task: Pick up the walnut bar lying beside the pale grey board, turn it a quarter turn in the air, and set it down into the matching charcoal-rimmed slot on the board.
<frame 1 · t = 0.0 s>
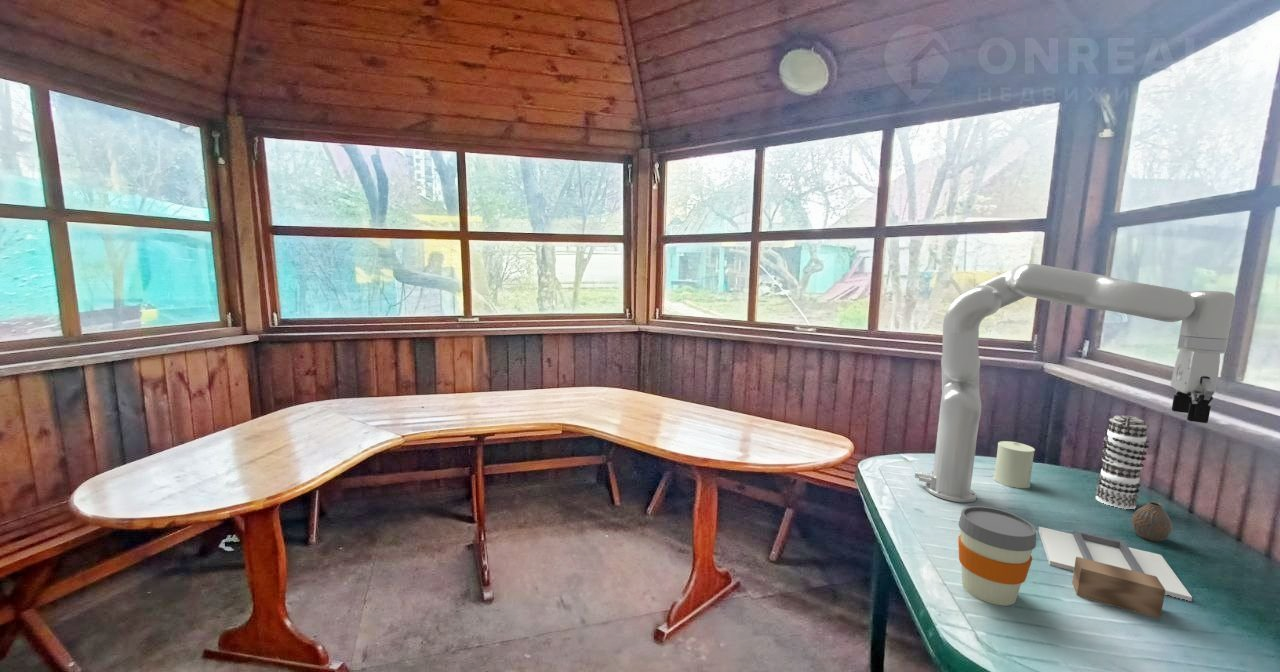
hand: (1188, 416, 119), 31 cm above the table, tool pointing down, fingers open, 9 cm apart
slot board: (1105, 561, 113), on the table
vase: (1148, 538, 124), on the table
reusable coffee cup: (988, 591, 101), on the table
can: (1011, 482, 156), on the table
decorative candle: (1115, 503, 143), on the table
walnut bar: (1113, 600, 100), on the table
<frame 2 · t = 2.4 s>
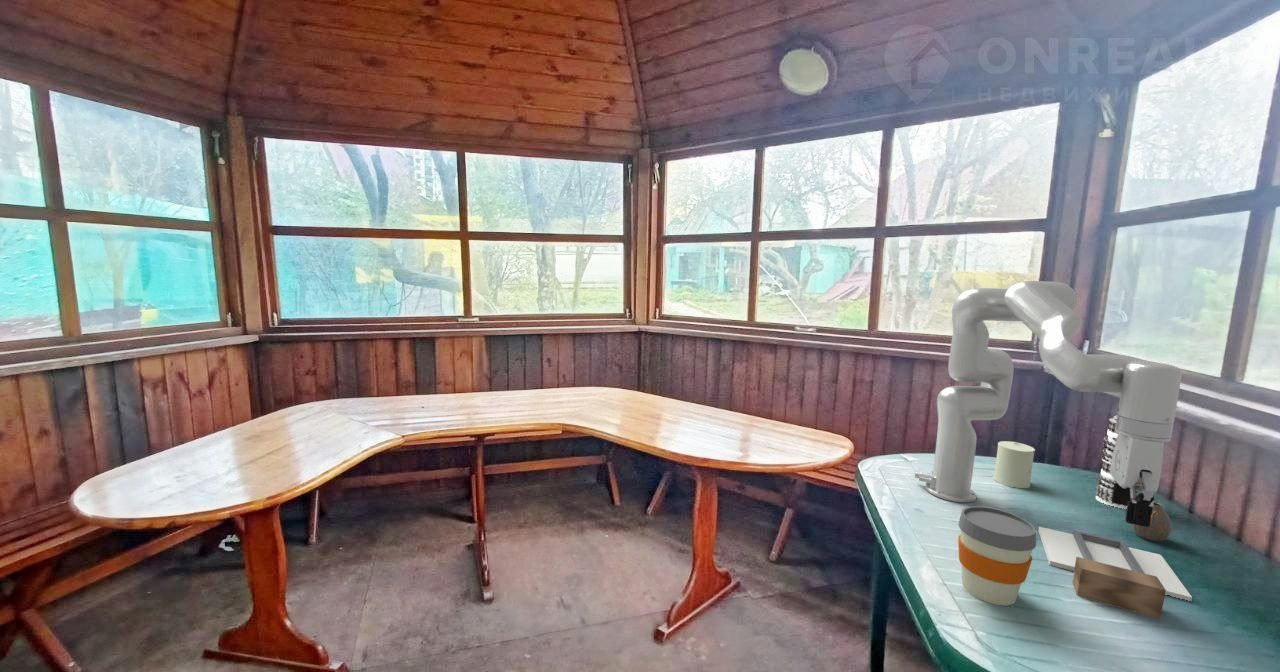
hand: (1129, 513, 97), 18 cm above the table, tool pointing down, fingers open, 9 cm apart
nothing on the table moved.
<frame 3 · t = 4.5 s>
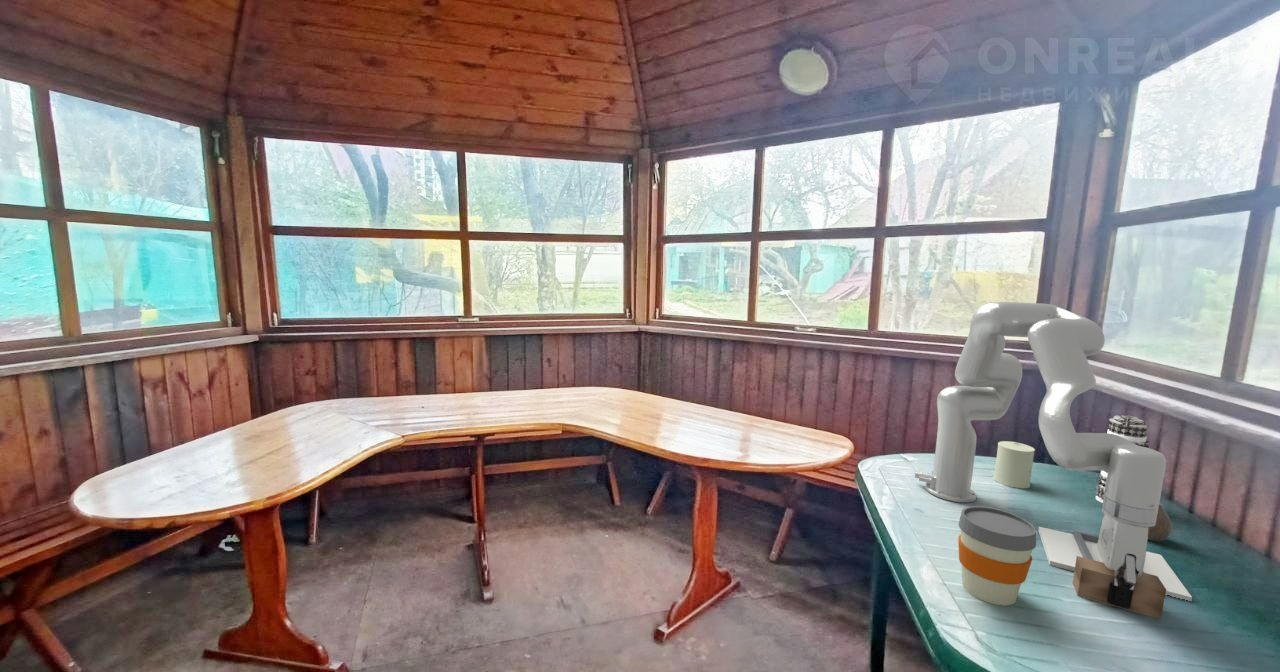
hand: (1114, 596, 99), 1 cm above the table, tool pointing down, fingers closed on walnut bar, 5 cm apart
walnut bar: (1114, 600, 100), on the table, touching gripper
everything else where it was.
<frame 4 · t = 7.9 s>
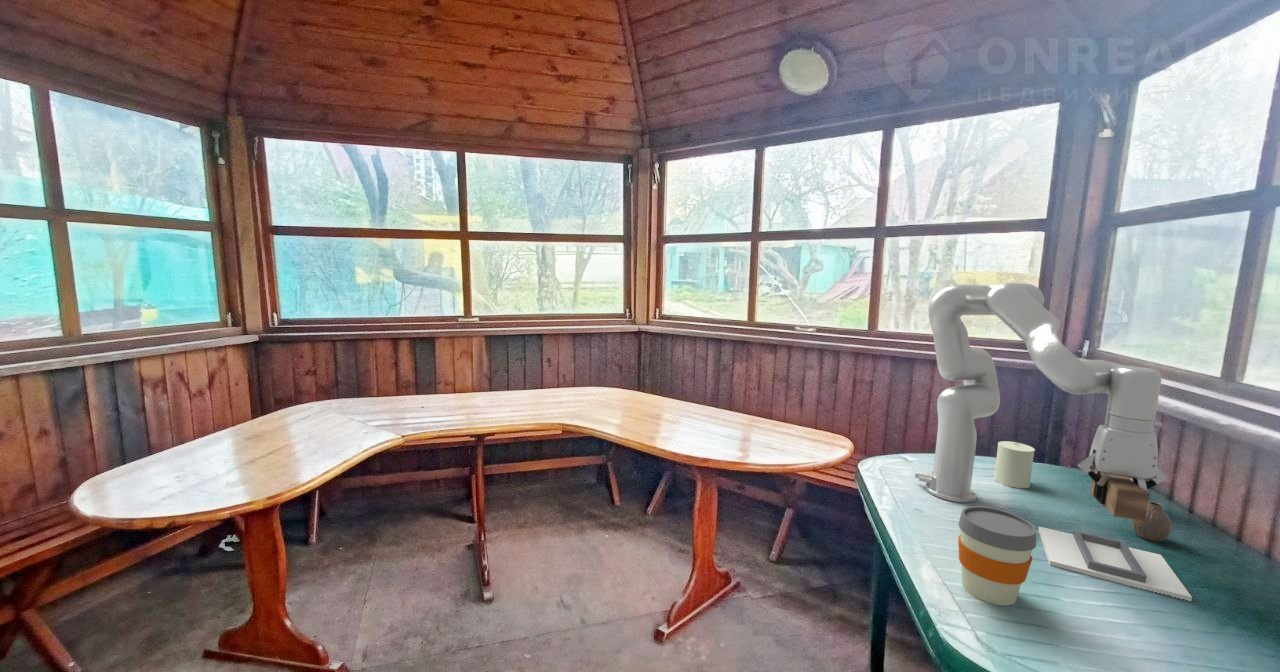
hand: (1116, 503, 111), 14 cm above the table, tool pointing down, fingers closed on walnut bar, 5 cm apart
walnut bar: (1115, 506, 111), point 13 cm above the table, touching gripper
everything else where it was.
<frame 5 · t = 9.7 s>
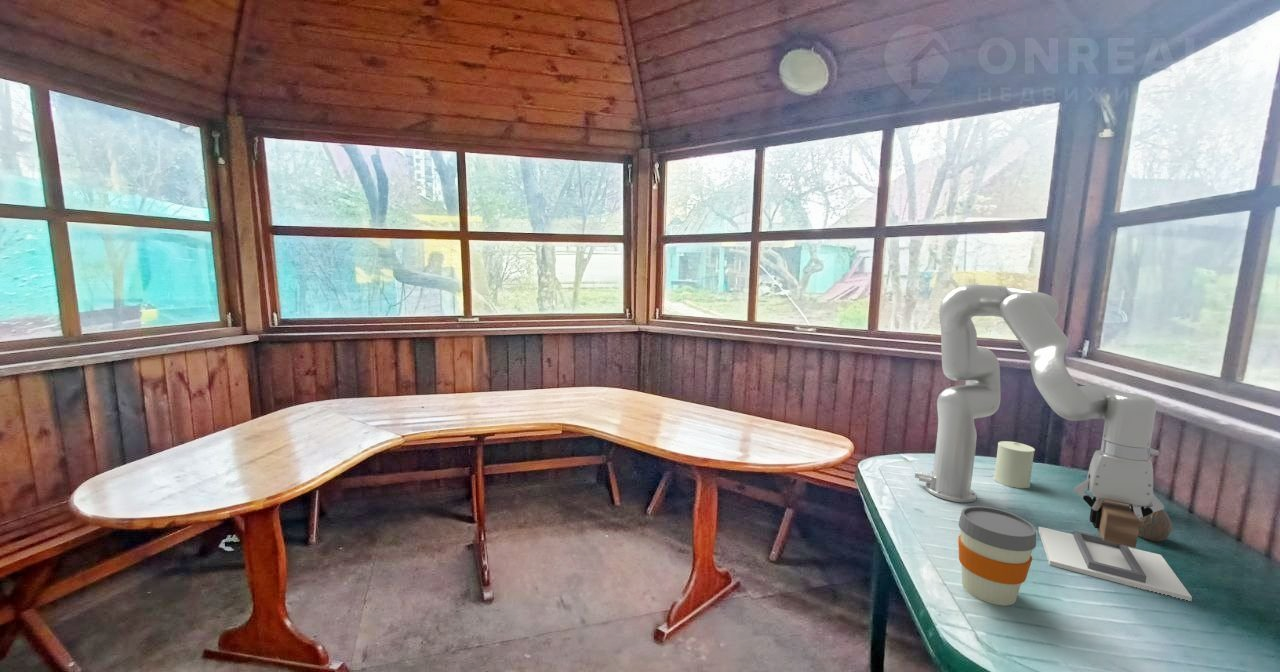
hand: (1112, 528, 112), 8 cm above the table, tool pointing down, fingers closed on walnut bar, 5 cm apart
walnut bar: (1112, 532, 112), point 7 cm above the table, touching gripper
everything else where it was.
when the fingers open (3 cm above the table, at t = 11.1 s): walnut bar drops 2 cm, resting on slot board.
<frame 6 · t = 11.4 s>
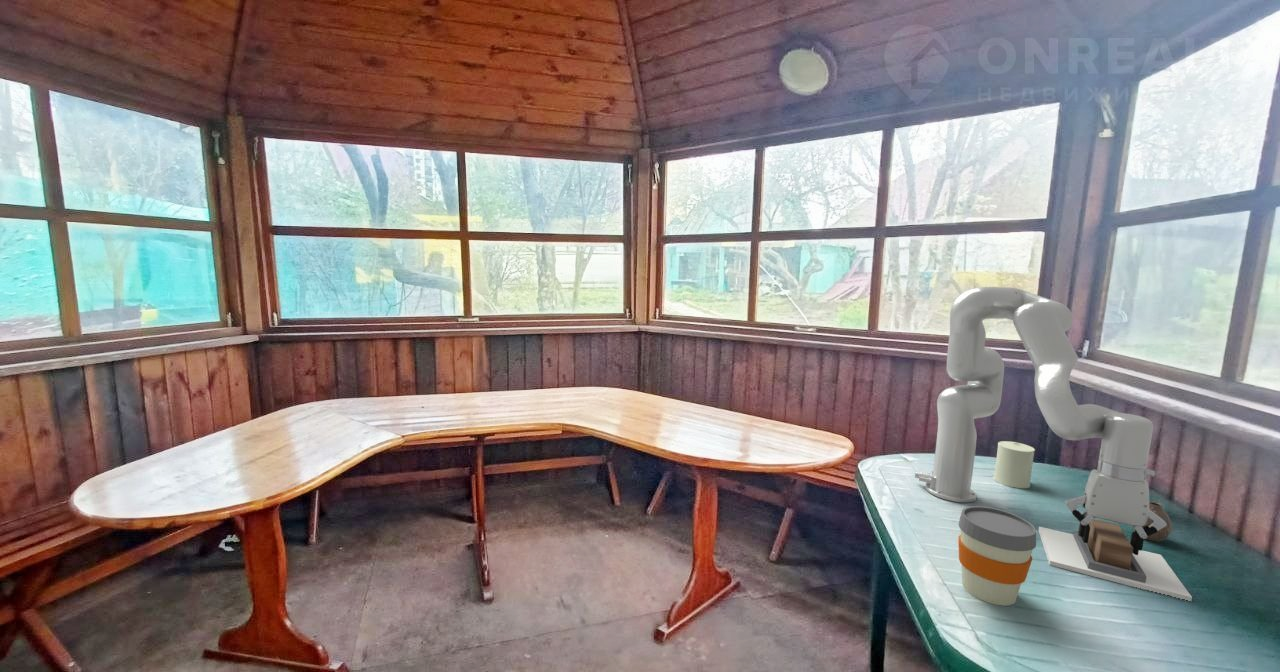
hand: (1108, 545, 112), 4 cm above the table, tool pointing down, fingers open, 7 cm apart
walnut bar: (1106, 557, 113), point 1 cm above the table, touching slot board
everything else where it was.
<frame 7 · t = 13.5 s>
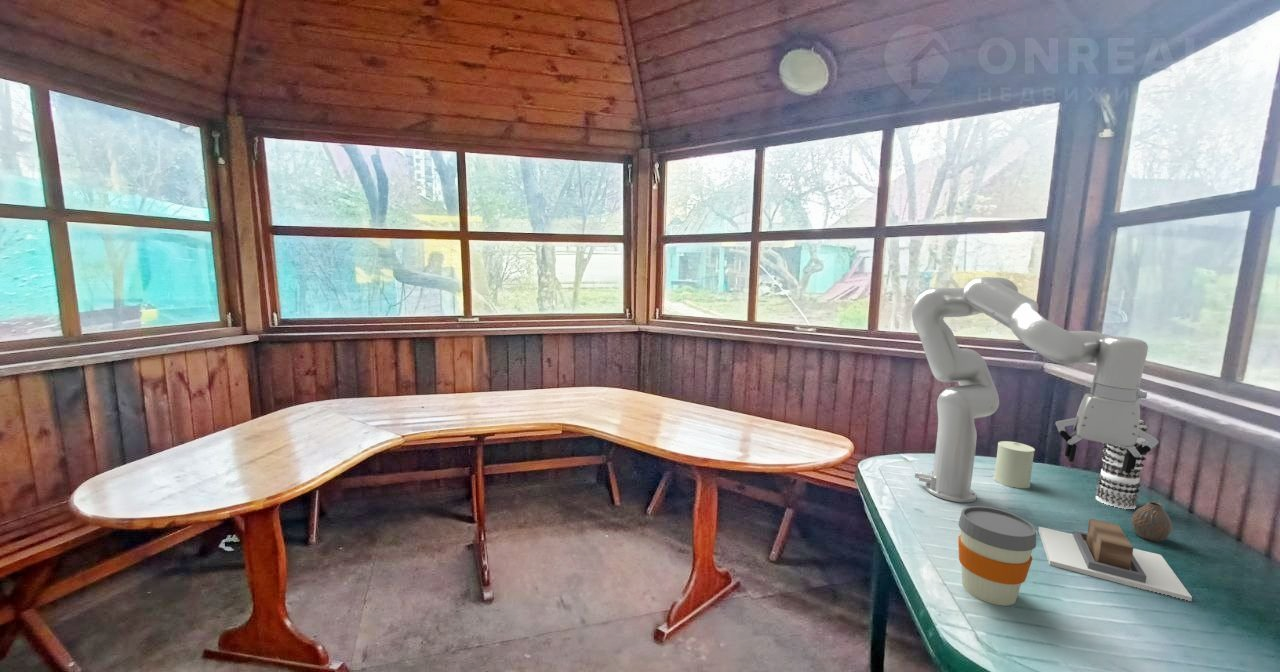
hand: (1097, 465, 115), 21 cm above the table, tool pointing down, fingers open, 9 cm apart
nothing on the table moved.
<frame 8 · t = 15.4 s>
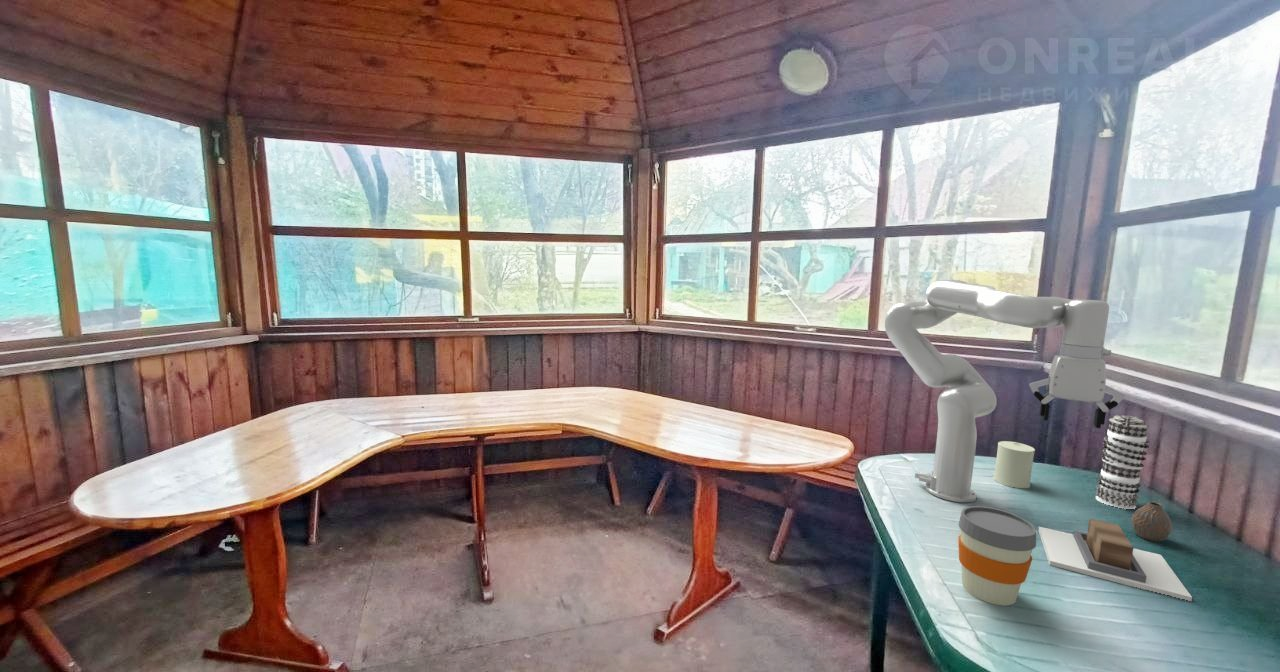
hand: (1070, 422, 121), 28 cm above the table, tool pointing down, fingers open, 9 cm apart
nothing on the table moved.
at the end: walnut bar 0.1 cm off-centre on the slot board, point 1.0 cm above the slot board's base; walnut bar tilted 0°; the gripper is holding nothing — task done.
